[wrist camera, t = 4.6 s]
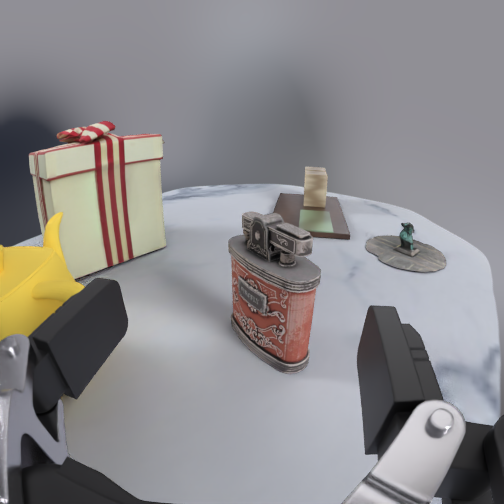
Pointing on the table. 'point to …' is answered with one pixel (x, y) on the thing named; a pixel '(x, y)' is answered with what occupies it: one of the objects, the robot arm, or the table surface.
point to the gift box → (101, 195)
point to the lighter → (273, 290)
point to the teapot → (33, 282)
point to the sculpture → (406, 252)
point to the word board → (314, 208)
